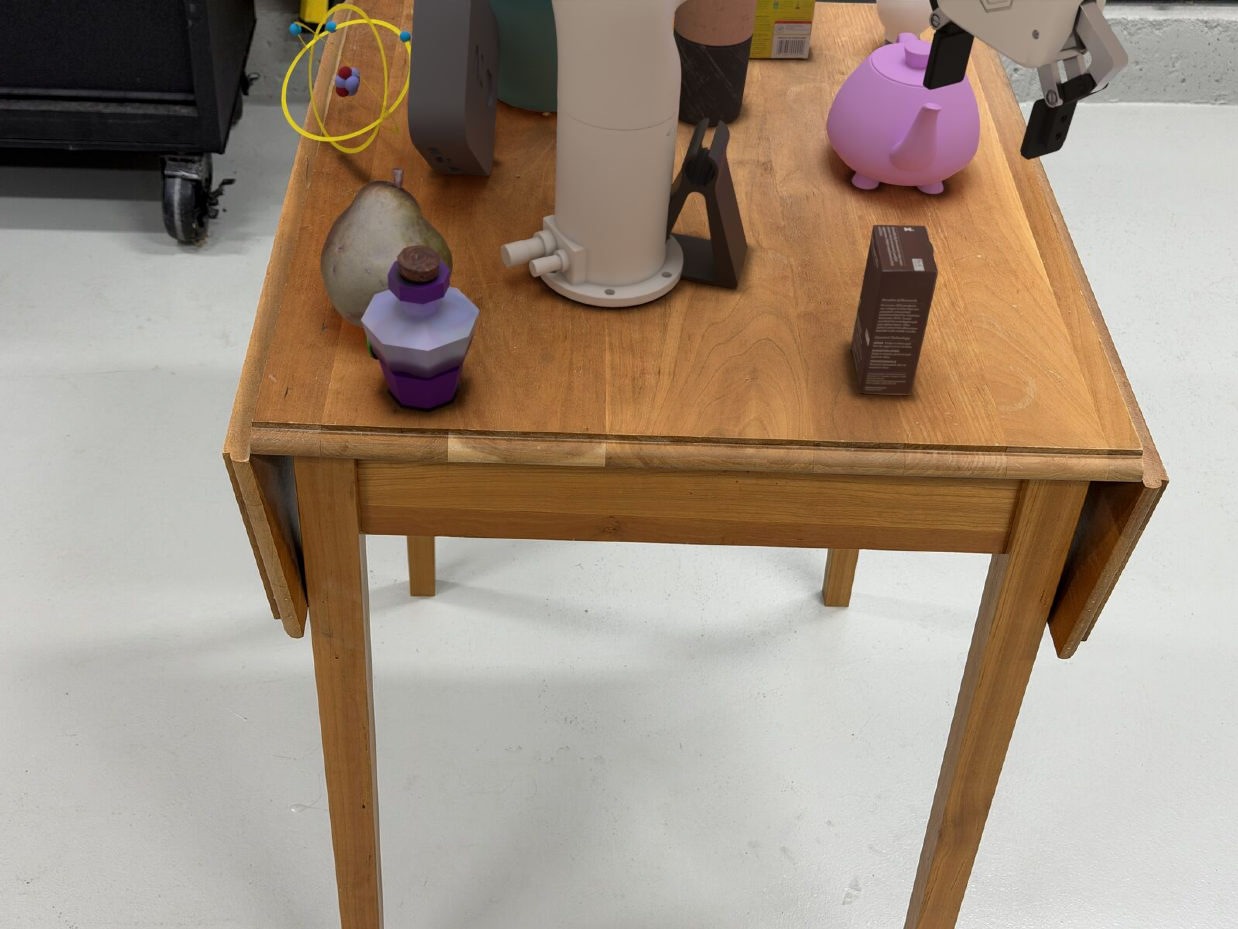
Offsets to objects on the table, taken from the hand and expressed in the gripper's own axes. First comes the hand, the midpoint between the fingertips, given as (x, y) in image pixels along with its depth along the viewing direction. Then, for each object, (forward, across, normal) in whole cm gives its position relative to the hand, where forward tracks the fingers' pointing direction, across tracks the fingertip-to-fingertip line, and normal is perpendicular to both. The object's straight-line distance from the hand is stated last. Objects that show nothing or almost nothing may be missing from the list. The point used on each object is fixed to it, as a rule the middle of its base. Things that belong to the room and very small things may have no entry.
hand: (989, 117), depth 93 cm
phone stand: (+24, -23, -6) cm, 34 cm away
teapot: (+24, -26, +19) cm, 41 cm away
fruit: (+24, -27, -32) cm, 49 cm away
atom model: (+11, -53, -23) cm, 59 cm away
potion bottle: (+24, -18, -34) cm, 45 cm away
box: (+24, -3, -1) cm, 25 cm away
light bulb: (+24, -45, +34) cm, 62 cm away
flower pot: (+24, -55, -3) cm, 60 cm away
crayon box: (+24, -51, +22) cm, 61 cm away
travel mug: (+24, -44, +9) cm, 51 cm away
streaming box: (+16, -46, -20) cm, 53 cm away
